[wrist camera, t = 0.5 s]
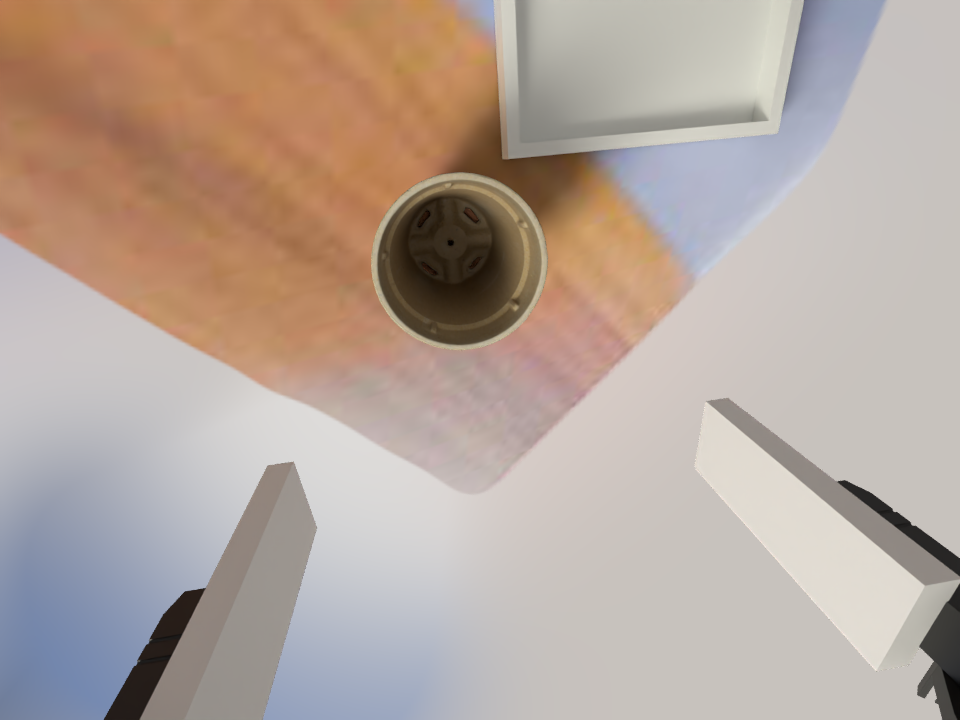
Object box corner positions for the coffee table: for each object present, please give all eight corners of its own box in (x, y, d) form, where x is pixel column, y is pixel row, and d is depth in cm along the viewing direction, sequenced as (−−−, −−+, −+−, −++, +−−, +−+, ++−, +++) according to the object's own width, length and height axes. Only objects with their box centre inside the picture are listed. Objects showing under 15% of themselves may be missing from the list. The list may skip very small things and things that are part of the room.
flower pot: (534, 194, 29) (574, 205, 22) (493, 317, 33) (515, 365, 25) (400, 149, 27) (392, 144, 19) (372, 287, 31) (356, 329, 23)
